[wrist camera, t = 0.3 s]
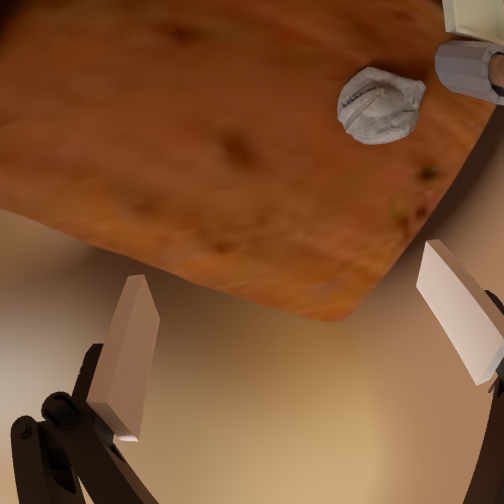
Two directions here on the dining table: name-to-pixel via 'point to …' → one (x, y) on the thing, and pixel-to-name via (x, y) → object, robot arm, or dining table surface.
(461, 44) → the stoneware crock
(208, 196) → the dining table surface
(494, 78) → the walnut dowel
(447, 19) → the sage tray
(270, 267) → the dining table surface
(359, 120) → the fossil
